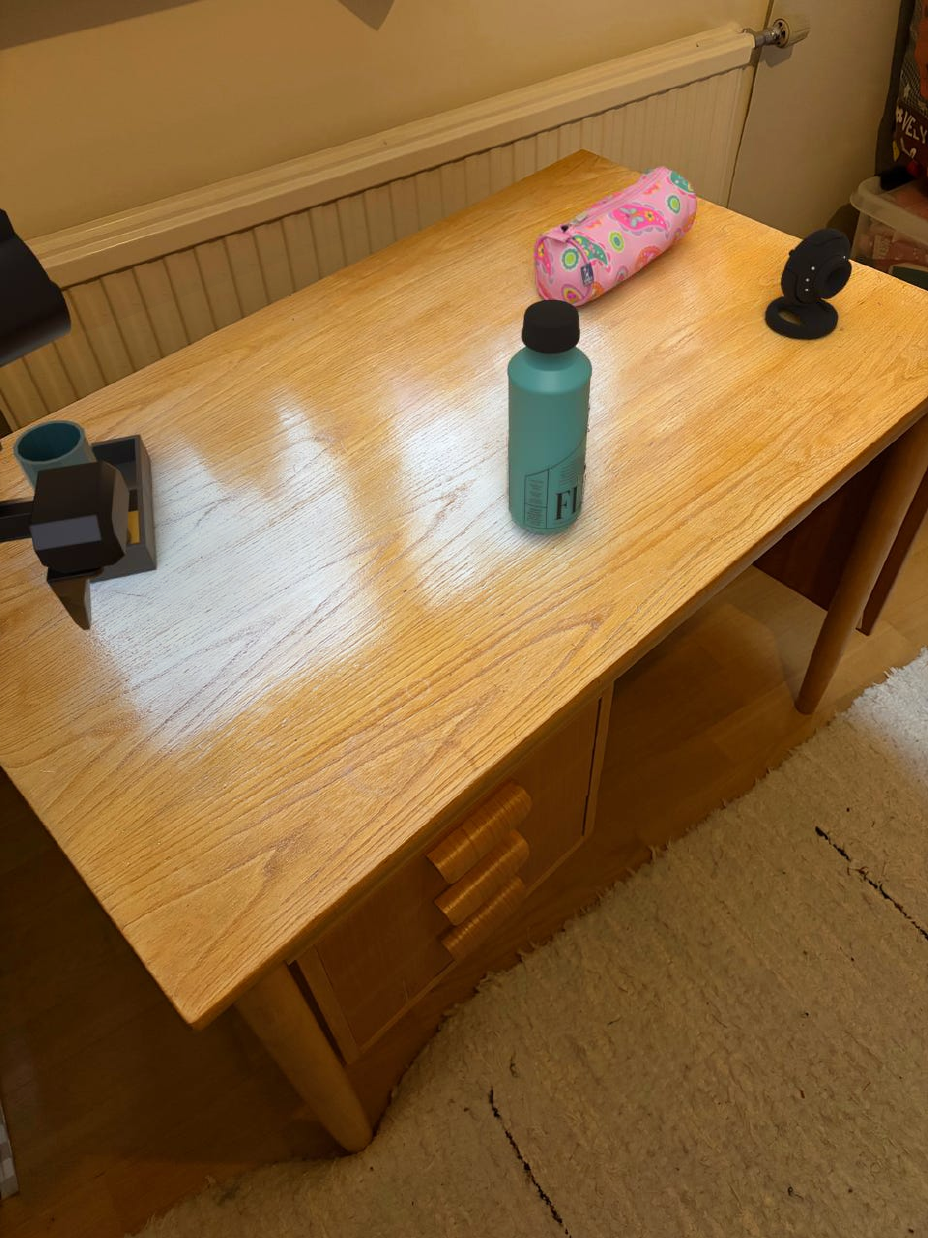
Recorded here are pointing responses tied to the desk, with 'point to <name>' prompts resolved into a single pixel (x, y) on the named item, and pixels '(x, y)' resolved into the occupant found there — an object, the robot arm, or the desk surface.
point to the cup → (53, 450)
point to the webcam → (812, 285)
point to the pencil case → (614, 237)
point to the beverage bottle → (548, 419)
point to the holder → (132, 504)
